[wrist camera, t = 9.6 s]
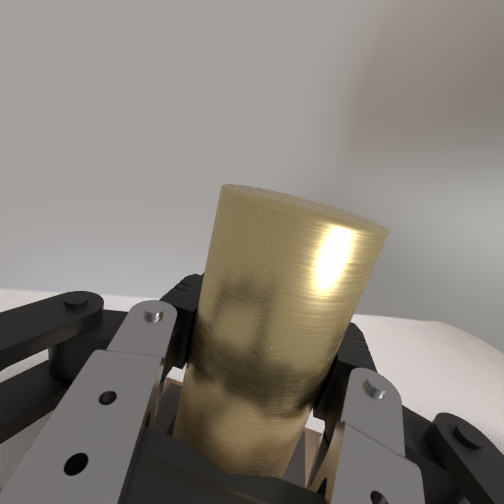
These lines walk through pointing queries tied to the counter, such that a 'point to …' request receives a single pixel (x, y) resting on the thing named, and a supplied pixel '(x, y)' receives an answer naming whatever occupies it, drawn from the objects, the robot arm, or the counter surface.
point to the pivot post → (269, 324)
